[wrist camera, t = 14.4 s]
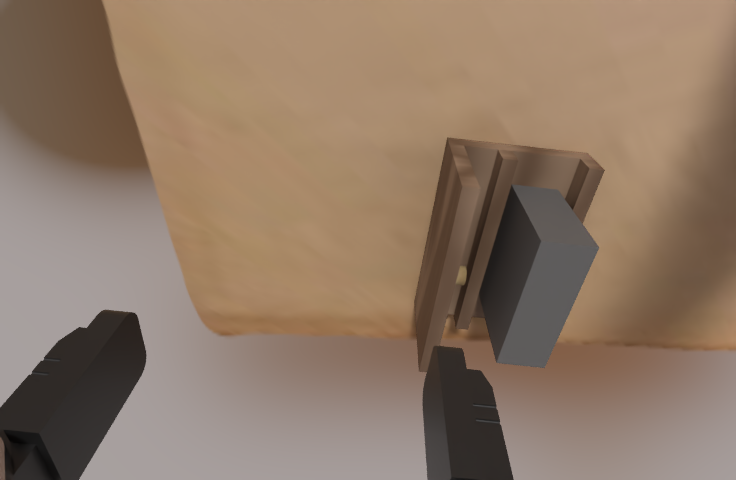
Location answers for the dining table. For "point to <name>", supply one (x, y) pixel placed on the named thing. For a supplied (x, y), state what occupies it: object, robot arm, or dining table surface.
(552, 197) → the mini frame
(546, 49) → the dining table surface
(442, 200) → the picture ledge
